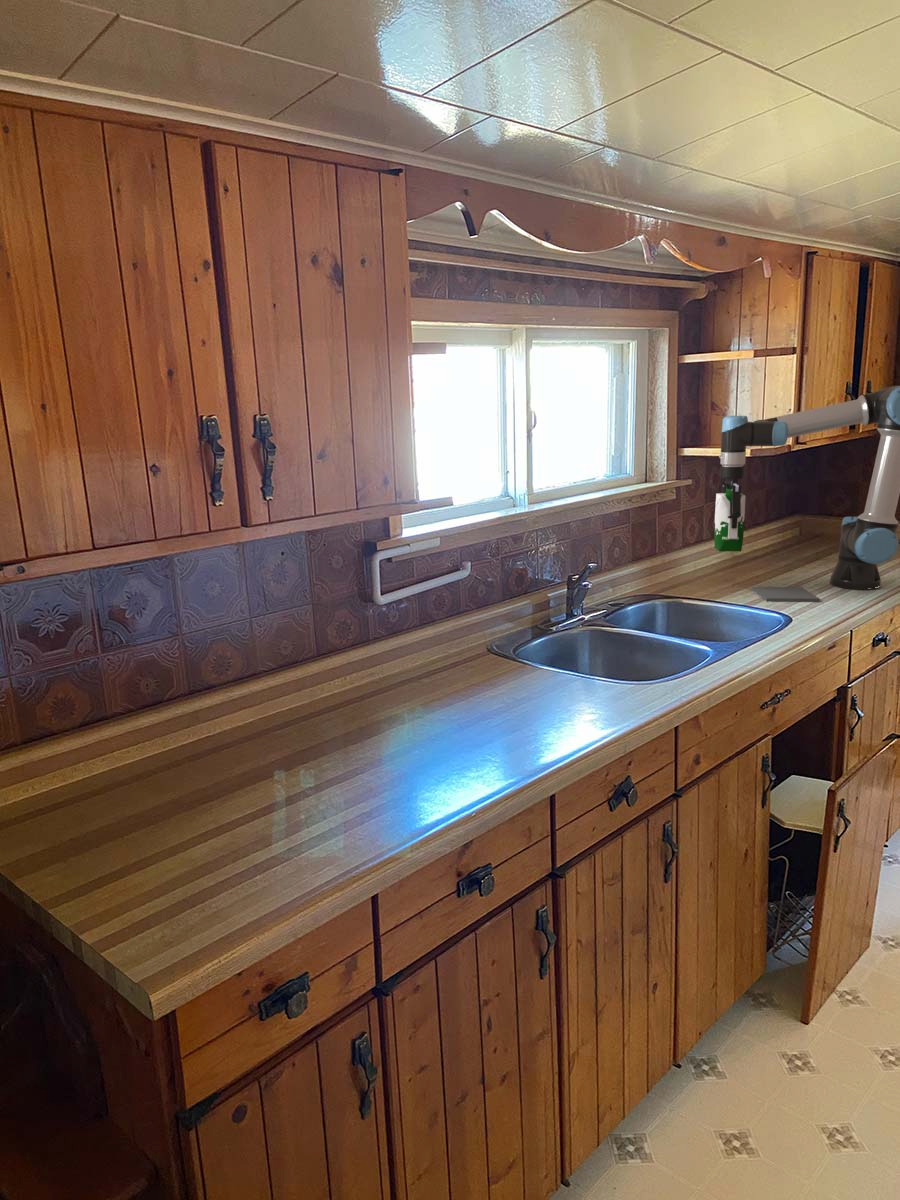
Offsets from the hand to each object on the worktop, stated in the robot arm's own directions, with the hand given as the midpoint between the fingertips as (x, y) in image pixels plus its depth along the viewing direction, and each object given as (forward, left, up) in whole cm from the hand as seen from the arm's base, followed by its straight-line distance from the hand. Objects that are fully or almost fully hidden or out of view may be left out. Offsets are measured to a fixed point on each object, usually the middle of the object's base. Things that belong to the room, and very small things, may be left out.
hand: (728, 535), depth 270 cm
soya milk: (0, 0, -5) cm, 5 cm away
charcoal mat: (-17, +8, -18) cm, 26 cm away
